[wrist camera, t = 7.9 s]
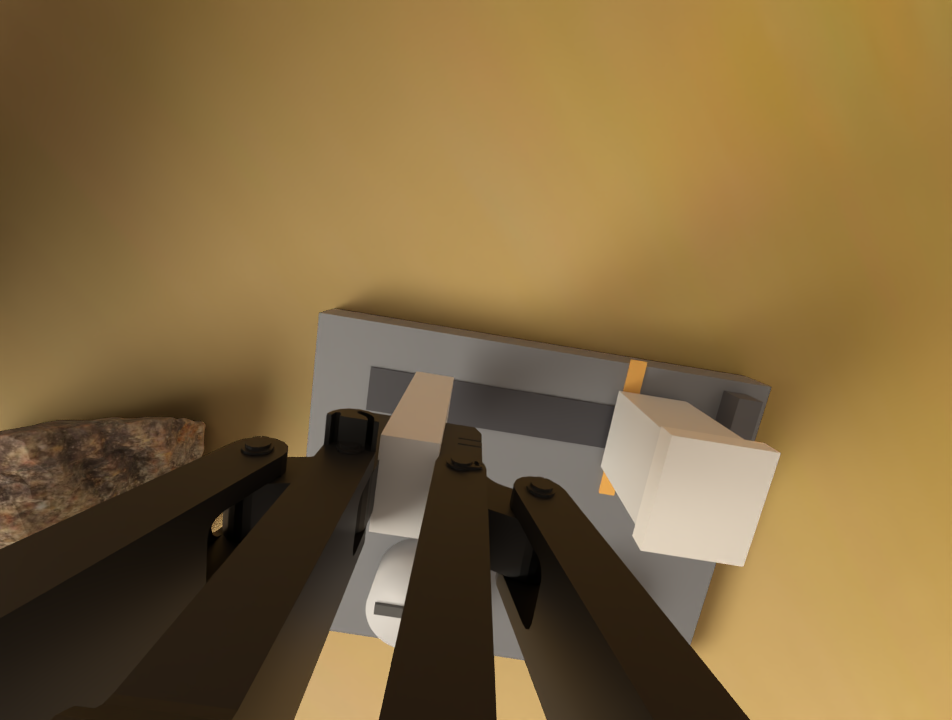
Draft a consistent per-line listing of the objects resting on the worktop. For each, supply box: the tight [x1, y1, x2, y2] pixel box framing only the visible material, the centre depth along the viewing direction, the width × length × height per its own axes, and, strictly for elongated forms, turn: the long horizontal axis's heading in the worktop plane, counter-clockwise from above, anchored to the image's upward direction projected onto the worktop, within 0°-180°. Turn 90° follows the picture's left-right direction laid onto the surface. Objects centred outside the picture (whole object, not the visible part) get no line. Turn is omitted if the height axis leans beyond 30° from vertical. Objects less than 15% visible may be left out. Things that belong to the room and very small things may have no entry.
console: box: [306, 308, 771, 660], centre depth 20 cm, size 20×16×4 cm
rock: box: [0, 417, 205, 549], centre depth 19 cm, size 14×9×10 cm
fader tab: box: [601, 391, 781, 567], centre depth 17 cm, size 3×4×6 cm
